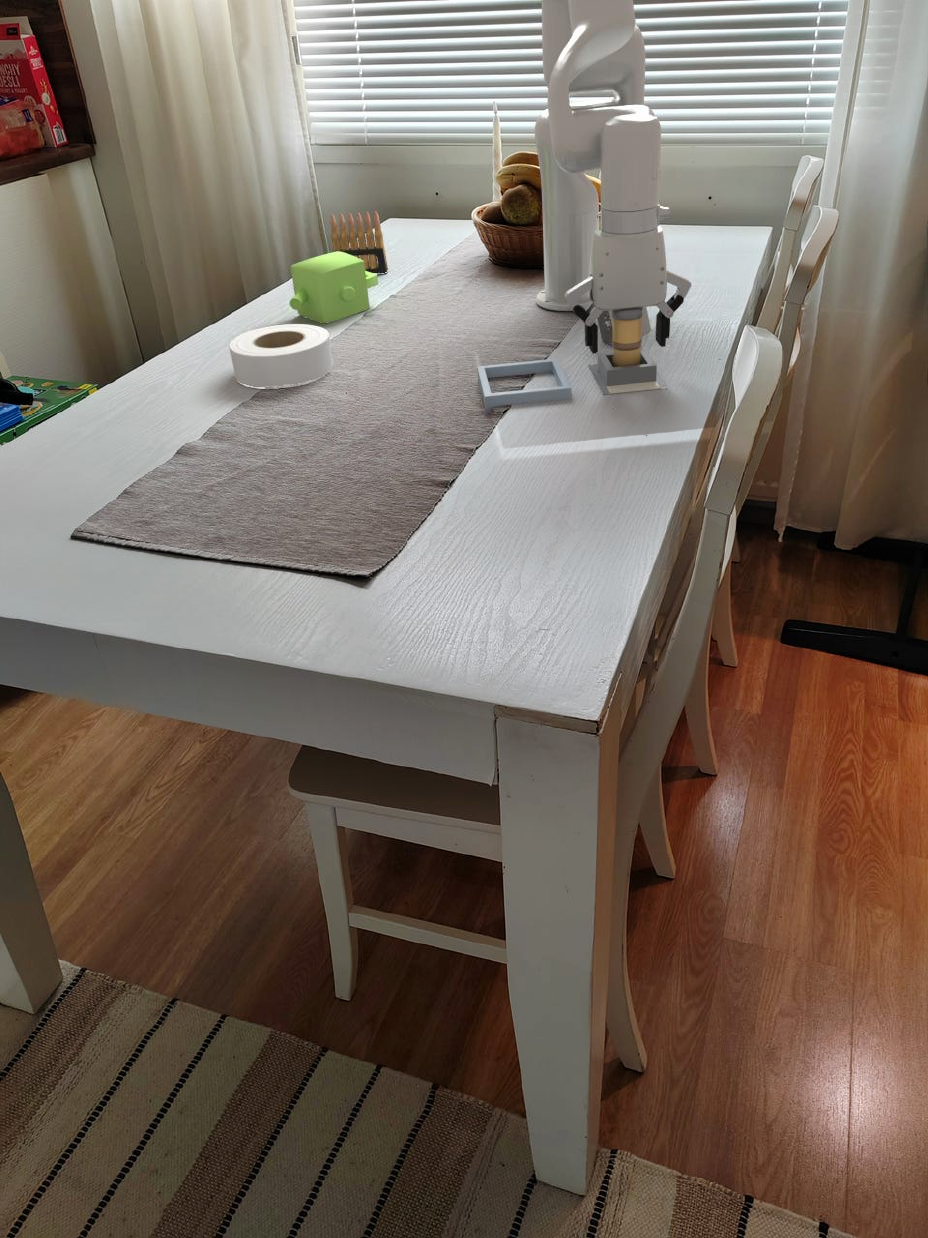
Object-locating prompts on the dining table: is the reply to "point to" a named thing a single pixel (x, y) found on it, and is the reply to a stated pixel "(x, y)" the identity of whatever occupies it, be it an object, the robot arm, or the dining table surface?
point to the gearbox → (331, 286)
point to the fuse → (627, 337)
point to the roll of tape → (281, 355)
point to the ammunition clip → (361, 241)
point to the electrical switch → (608, 330)
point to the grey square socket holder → (626, 375)
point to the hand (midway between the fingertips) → (626, 346)
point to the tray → (522, 395)
